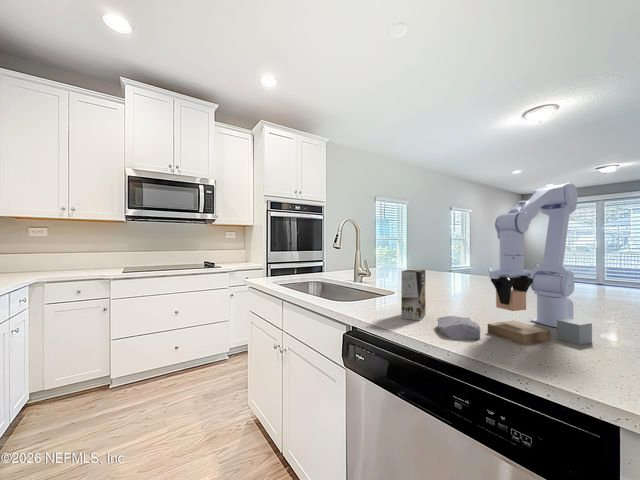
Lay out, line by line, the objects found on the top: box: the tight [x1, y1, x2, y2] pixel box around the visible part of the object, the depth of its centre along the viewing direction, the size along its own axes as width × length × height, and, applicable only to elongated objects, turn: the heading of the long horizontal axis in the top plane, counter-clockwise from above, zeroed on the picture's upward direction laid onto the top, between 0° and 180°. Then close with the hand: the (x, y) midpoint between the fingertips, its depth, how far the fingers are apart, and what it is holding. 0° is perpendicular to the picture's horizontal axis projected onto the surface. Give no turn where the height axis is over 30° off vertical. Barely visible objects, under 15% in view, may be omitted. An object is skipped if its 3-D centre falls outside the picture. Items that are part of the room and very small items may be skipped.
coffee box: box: [400, 269, 427, 322], centre depth 96 cm, size 9×6×16 cm
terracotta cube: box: [495, 288, 527, 312], centre depth 79 cm, size 5×5×5 cm
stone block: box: [436, 315, 481, 340], centre depth 80 cm, size 12×5×10 cm
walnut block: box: [487, 320, 551, 346], centre depth 76 cm, size 10×10×3 cm
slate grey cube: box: [556, 318, 593, 345], centre depth 73 cm, size 5×5×5 cm
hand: (511, 303), depth 79 cm, fingers closed on terracotta cube, 5 cm apart
